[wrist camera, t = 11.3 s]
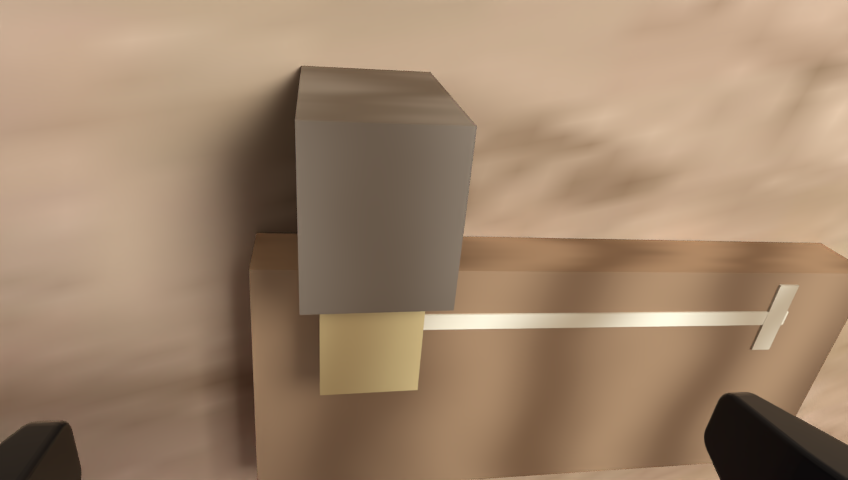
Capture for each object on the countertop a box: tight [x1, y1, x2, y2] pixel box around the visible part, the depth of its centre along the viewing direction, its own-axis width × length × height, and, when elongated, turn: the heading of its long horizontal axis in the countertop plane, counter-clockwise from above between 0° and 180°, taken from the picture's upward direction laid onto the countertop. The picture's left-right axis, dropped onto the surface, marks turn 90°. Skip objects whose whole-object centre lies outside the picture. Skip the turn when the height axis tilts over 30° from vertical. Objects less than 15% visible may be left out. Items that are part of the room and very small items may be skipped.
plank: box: [249, 233, 848, 480], centre depth 23 cm, size 23×10×3 cm, turn 84°
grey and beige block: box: [295, 66, 477, 395], centre depth 17 cm, size 4×9×6 cm, turn 175°
